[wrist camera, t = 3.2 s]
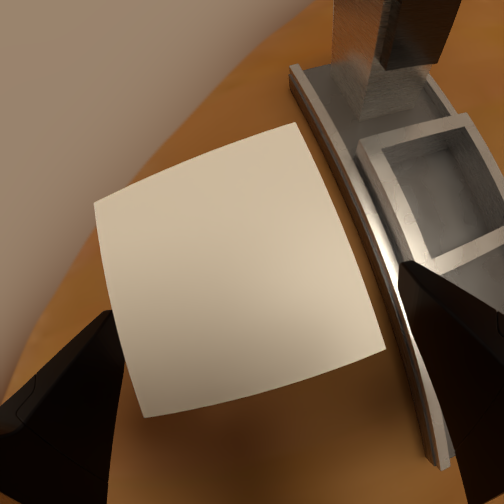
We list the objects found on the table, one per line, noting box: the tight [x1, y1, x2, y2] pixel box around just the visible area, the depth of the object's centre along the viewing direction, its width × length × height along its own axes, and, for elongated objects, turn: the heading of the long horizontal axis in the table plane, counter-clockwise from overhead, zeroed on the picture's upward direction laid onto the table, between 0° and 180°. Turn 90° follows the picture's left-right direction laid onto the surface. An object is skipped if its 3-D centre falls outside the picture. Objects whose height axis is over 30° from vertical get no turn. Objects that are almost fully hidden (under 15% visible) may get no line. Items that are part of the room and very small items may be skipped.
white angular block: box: [94, 122, 386, 418], centre depth 11 cm, size 5×4×12 cm
